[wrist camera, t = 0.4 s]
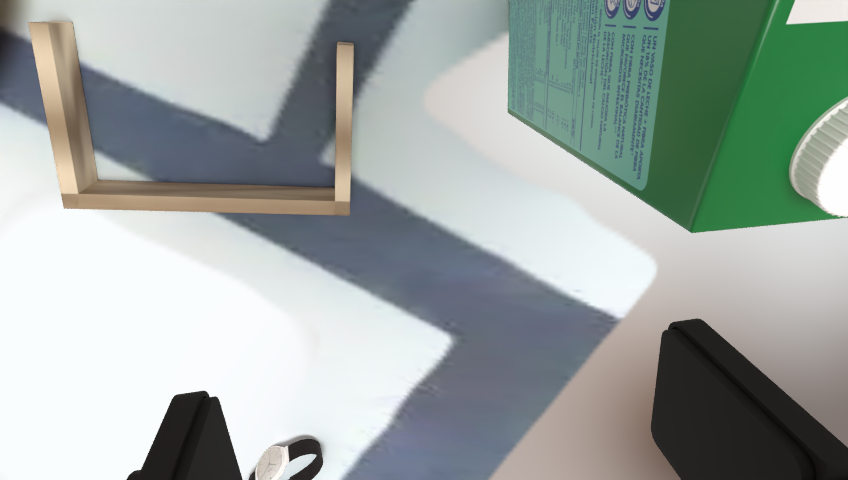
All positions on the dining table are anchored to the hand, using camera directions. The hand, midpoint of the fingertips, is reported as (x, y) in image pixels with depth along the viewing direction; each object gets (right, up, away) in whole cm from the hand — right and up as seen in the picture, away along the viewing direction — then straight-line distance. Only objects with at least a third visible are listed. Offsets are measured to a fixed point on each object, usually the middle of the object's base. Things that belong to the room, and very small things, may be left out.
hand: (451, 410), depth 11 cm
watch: (-13, -16, +38) cm, 43 cm away
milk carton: (+10, +17, +26) cm, 33 cm away
